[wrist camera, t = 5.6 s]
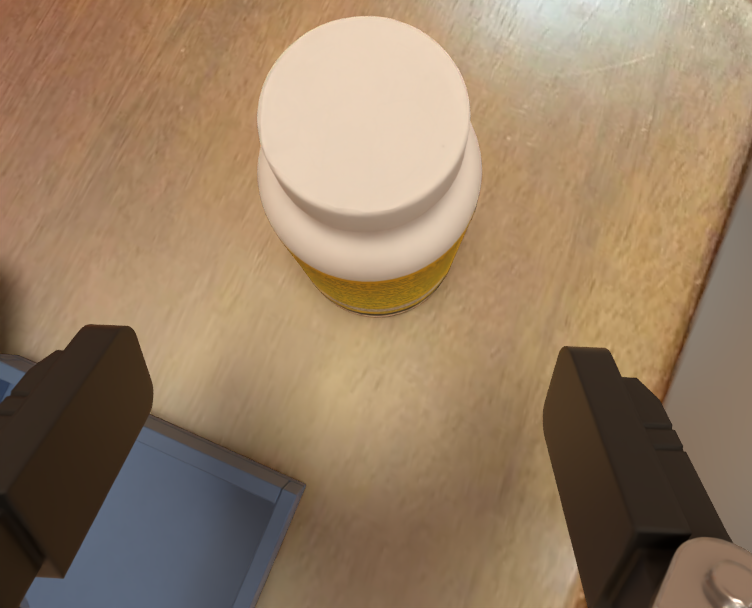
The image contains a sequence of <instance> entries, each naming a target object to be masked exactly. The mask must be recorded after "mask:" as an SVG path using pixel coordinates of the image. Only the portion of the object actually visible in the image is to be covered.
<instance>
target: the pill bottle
mask: <svg viewBox="0 0 752 608" xmlns="http://www.w3.org/2000/svg"><path fill="white" fill-rule="evenodd" d="M470 119H471V115H470V101H469V96H468V92H467V88H466V85H465V82H464V80H463V77H462V75H461V73H460V71H459V69H458V67H457V65H456V64H455V63H454V61H453V60H452V58H451V57H450V56H449V54H448V53H447V52H446V51H445V50H444V49H443V48H442V47H441V46H440V45H439V44H438V43H437V42H436V41H435V40H434V39H432V38H431V37H430V36H428V35H427V34H425V33H424V32H422V31H420V30H419V29H417V28H415V27H413V26H411V25H408V24H406V23H403V22H400V21H398V20H394V19H390V18H385V17H376V16H357V17H349V18H343V19H338V20H334V21H331V22H328V23H326V24H323V25H321V26H318V27H316V28H314V29H312V30H310V31H309V32H307V33H305V34H304V35H302V36H301V37H300V38H298V39H297V40H296V41H295V42H293V43H292V44H291V45H290V46H289V47H288V48H287V49H286V50H285V51H284V52H283V53H282V54H281V55H280V56H279V58H278V59H277V60H276V62H275V63H274V65H273V66H272V68H271V70H270V72H269V73H268V75H267V77H266V79H265V82H264V84H263V87H262V90H261V94H260V98H259V103H258V111H257V128H258V134H259V140H260V144H261V147H260V152H259V158H258V168H257V176H258V187H259V193H260V198H261V202H262V205H263V208H264V211H265V213H266V216H267V218H268V220H269V222H270V224H271V226H272V227H273V229H274V231H275V232H276V234H277V235H278V237H279V238H280V240H281V241H282V243H283V244H284V246H285V247H286V248H287V249H288V251H289V252H290V253H291V254H292V256H293V257H294V258H295V260H296V261H297V262H298V263H299V265H300V266H301V267H302V268H303V270H304V271H305V273H306V274H307V275H308V277H309V278H310V279H311V281H312V282H313V283H314V285H315V286H316V287H317V288H318V290H319V291H320V292H321V293H322V294H323V295H324V296H325V297H327V298H328V299H329V300H330V301H331V302H333V303H334V304H336V305H337V306H339V307H340V308H342V309H344V310H347V311H349V312H352V313H355V314H359V315H363V316H370V317H385V316H392V315H396V314H400V313H403V312H406V311H408V310H410V309H412V308H415V307H416V306H418V305H419V304H421V303H422V302H424V301H425V300H426V299H428V298H429V297H430V296H431V295H432V294H433V293H434V292H435V291H436V289H437V288H438V287H439V286H440V284H441V283H442V281H443V280H444V278H445V277H446V275H447V273H448V271H449V269H450V267H451V264H452V262H453V259H454V257H455V255H456V252H457V250H458V248H459V245H460V243H461V241H462V239H463V237H464V235H465V232H466V230H467V228H468V225H469V223H470V221H471V220H472V217H473V214H474V212H475V209H476V205H477V201H478V197H479V193H480V188H481V181H482V160H481V152H480V148H479V144H478V139H477V136H476V134H475V131H474V129H473V126H472V124H471V122H470Z"/></svg>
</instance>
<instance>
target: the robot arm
mask: <svg viewBox="0 0 752 608" xmlns="http://www.w3.org/2000/svg"><path fill="white" fill-rule="evenodd" d="M152 403H153V384H152V381H151V378H150V375H149V372H148V369H147V366H146V363H145V360H144V357H143V354H142V351H141V348H140V345H139V342H138V339H137V336H136V333H135V332H134V330H133V329H132V328H131V327H129V326H116V325H93V324H89V325H85V326H84V327H82V328H81V329H80V330H79V332H78V333H77V334H76V335H75V337H74V338H73V339H72V340H71V342H70V343H69V344H68V346H67V347H66V348H65V349H64V351H63V350H56V351H55V352H53V353H52V354H50V355H49V356H47V357H46V358H44V359H43V360H42V361H40V362H39V363H37V364H36V365H34V366H33V367H32V368H30V369H29V370H28V371H27V372H26V374H25V375H24V376H23V377H22V378H21V380H20V381H19V382H18V383H17V384H16V386H15V387H14V388H13V389H12V390H11V395H10V396H6V398H5V399H4V400H3V401H2V402H1V404H0V608H30V607H29V603H28V600H27V598H26V597H25V595H26V593H27V591H28V589H29V588H30V586H31V584H32V582H33V581H34V579H35V577H42V578H58V579H64V577H65V575H66V573H67V571H68V570H69V568H70V566H71V564H72V562H73V560H74V558H75V556H76V554H77V552H78V550H79V548H80V547H81V545H82V543H83V541H84V539H85V537H86V535H87V533H88V531H89V529H90V527H91V525H92V524H93V522H94V520H95V518H96V516H97V514H98V512H99V510H100V508H101V506H102V504H103V502H104V501H105V499H106V497H107V495H108V493H109V491H110V489H111V487H112V485H113V483H114V481H115V479H116V478H117V476H118V474H119V472H120V470H121V468H122V466H123V464H124V462H125V460H126V458H127V456H128V455H129V453H130V451H131V449H132V447H133V445H134V443H135V441H136V439H137V437H138V435H139V433H140V432H141V430H142V428H143V426H144V424H145V422H146V420H147V418H148V416H149V414H150V411H151V408H152ZM543 430H544V436H545V440H546V444H547V448H548V452H549V456H550V460H551V464H552V468H553V472H554V476H555V480H556V484H557V488H558V492H559V495H560V499H561V503H562V507H563V511H564V515H565V519H566V523H567V527H568V531H569V535H570V539H571V543H572V547H573V551H574V555H575V558H576V562H577V566H578V570H579V574H580V578H581V582H582V586H583V590H584V594H585V598H586V602H587V606H588V608H752V553H750V552H749V551H747V550H745V549H744V548H742V547H740V546H737V545H736V544H734V543H733V542H732V540H731V539H730V537H729V535H728V533H727V532H726V530H725V528H724V526H723V524H722V522H721V520H720V518H719V516H718V514H717V512H716V510H715V508H714V506H713V504H712V502H711V500H710V498H709V496H708V494H707V492H706V490H705V488H704V486H703V485H702V482H701V480H700V478H699V477H698V475H697V473H696V471H695V469H694V467H693V465H692V463H691V461H690V459H689V457H688V455H687V453H686V452H684V451H683V445H682V443H681V441H680V439H679V437H678V435H677V433H676V431H675V430H672V423H671V422H670V420H669V418H668V416H667V414H666V412H665V410H664V408H663V406H662V404H661V402H660V400H659V399H658V398H657V397H656V396H655V395H654V394H653V393H652V392H651V391H650V390H649V389H648V388H647V387H646V386H645V385H644V384H642V383H641V382H640V381H639V380H638V379H637V378H627V377H621V374H620V372H619V370H618V368H617V366H616V363H615V361H614V359H613V357H612V355H611V353H610V351H609V350H608V349H606V348H593V347H570V346H564V347H562V349H561V350H560V352H559V355H558V358H557V362H556V365H555V368H554V372H553V375H552V379H551V382H550V386H549V389H548V393H547V396H546V400H545V403H544V409H543Z"/></svg>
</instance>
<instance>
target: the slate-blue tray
mask: <svg viewBox="0 0 752 608" xmlns="http://www.w3.org/2000/svg"><path fill="white" fill-rule="evenodd" d="M36 364H37V363H34V362H32V361H30V360H28V359H25V358H23V357H21V356H19V355H9V354H0V404H1V402H2V401H3V400H4V399H5V398H6V396H10V395H11V390H12V389H13V388H14V387H15V386H16V384H17V383H18V382H19V381H20V380H21V378H22V377H23V376H24V375H25V374H26V372H27V371H28V370H29V369H30V368H32V367H33V366H34V365H36ZM305 487H306V484H304V483H302V482H300V481H297V480H295V479H293V478H291V477H289V476H286V475H284V474H282V473H280V472H277V471H275V470H273V469H271V468H268V467H266V466H264V465H262V464H260V463H257V462H255V461H253V460H251V459H248V458H246V457H244V456H242V455H239V454H237V453H235V452H233V451H231V450H228V449H226V448H224V447H222V446H219V445H217V444H215V443H213V442H211V441H208V440H206V439H204V438H202V437H199V436H197V435H195V434H193V433H190V432H188V431H186V430H184V429H182V428H179V427H177V426H175V425H173V424H170V423H168V422H166V421H164V420H161V419H159V418H157V417H155V416H153V415H150V414H149V416H148V418H147V420H146V422H145V424H144V426H143V428H142V430H141V432H140V433H139V435H138V437H137V439H136V441H135V443H134V445H133V447H132V449H131V451H130V453H129V455H128V456H127V458H126V460H125V462H124V464H123V466H122V468H121V470H120V472H119V474H118V476H117V478H116V479H115V481H114V483H113V485H112V487H111V489H110V491H109V493H108V495H107V497H106V499H105V501H104V502H103V504H102V506H101V508H100V510H99V512H98V514H97V516H96V518H95V520H94V522H93V524H92V525H91V527H90V529H89V531H88V533H87V535H86V537H85V539H84V541H83V543H82V545H81V547H80V548H79V550H78V552H77V554H76V556H75V558H74V560H73V562H72V564H71V566H70V568H69V570H68V571H67V573H66V575H65V577H64V579H58V578H42V577H35V579H34V581H33V582H32V584H31V586H30V588H29V589H28V591H27V593H26V595H25V597H26V598H27V600H28V603H29V607H30V608H255V606H256V603H257V601H258V598H259V596H260V594H261V591H262V589H263V587H264V584H265V582H266V579H267V577H268V575H269V572H270V570H271V568H272V565H273V563H274V560H275V558H276V556H277V553H278V551H279V549H280V546H281V544H282V542H283V539H284V537H285V534H286V532H287V530H288V527H289V525H290V523H291V520H292V518H293V515H294V513H295V511H296V508H297V506H298V504H299V501H300V499H301V497H302V494H303V492H304V489H305Z"/></svg>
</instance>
